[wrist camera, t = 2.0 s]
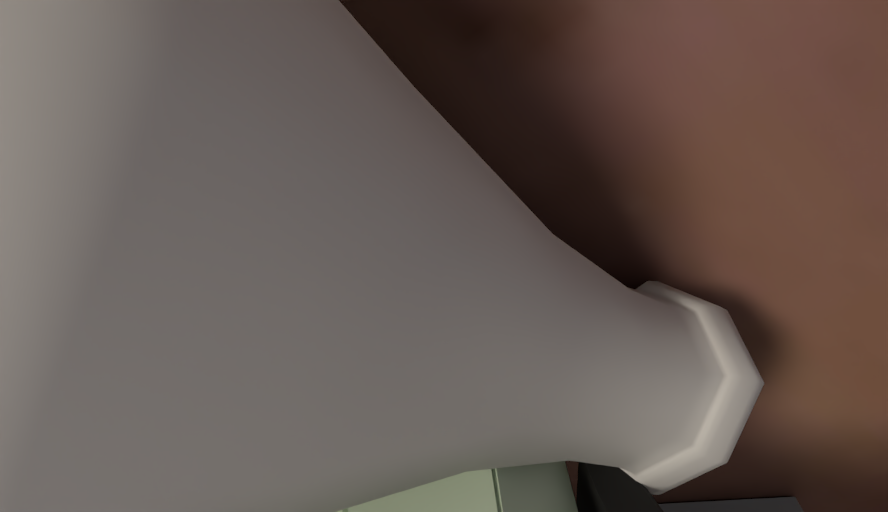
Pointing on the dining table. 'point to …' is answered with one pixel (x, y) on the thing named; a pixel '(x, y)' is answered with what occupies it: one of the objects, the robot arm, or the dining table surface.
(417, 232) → the flask
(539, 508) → the cap
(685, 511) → the mat
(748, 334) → the dining table surface
